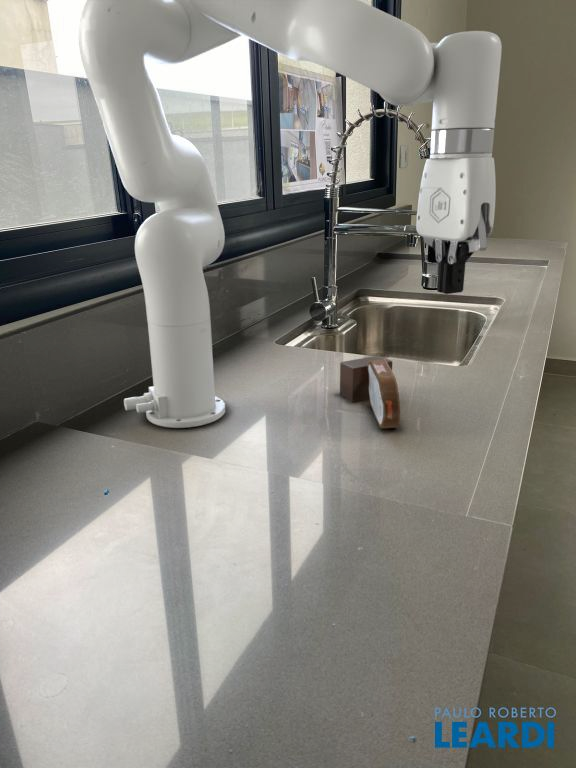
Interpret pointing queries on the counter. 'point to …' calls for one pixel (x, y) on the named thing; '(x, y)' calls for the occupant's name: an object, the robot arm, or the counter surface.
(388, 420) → the tin
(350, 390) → the block
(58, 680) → the counter surface
